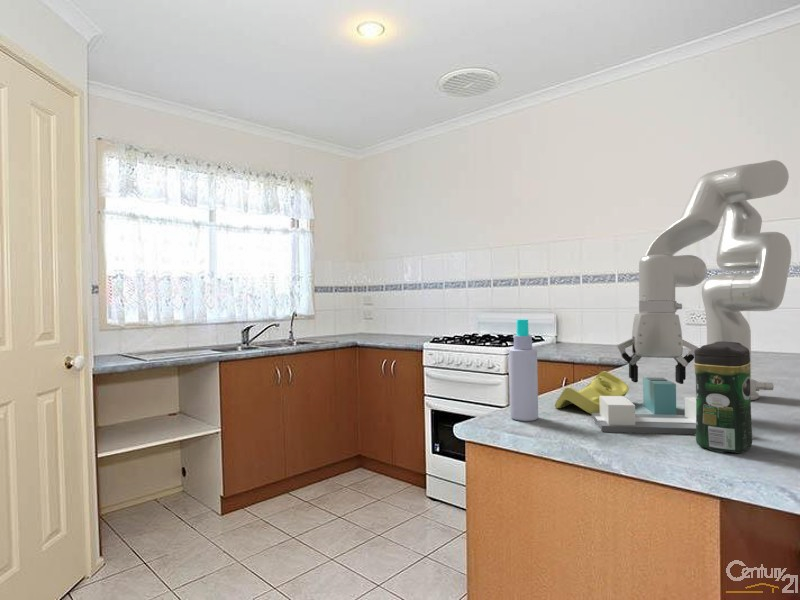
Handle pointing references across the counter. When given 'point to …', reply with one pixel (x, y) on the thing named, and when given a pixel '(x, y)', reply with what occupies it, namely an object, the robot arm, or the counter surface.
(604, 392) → the plastic component
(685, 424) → the rail board
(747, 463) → the counter surface
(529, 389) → the spray bottle
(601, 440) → the counter surface
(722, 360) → the coffee jar
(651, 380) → the block
